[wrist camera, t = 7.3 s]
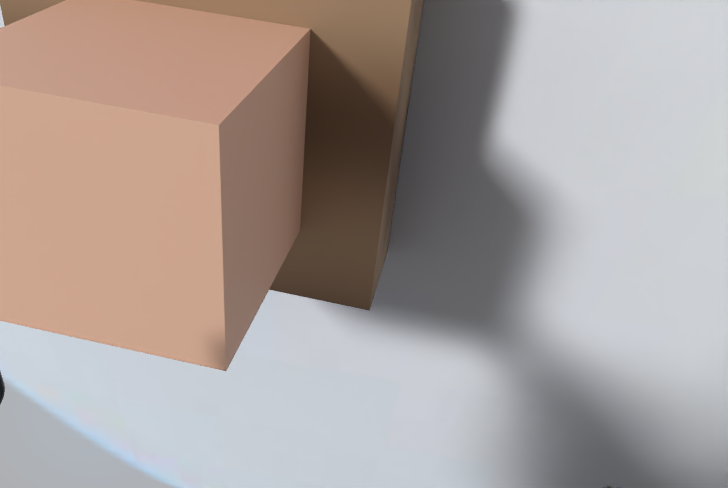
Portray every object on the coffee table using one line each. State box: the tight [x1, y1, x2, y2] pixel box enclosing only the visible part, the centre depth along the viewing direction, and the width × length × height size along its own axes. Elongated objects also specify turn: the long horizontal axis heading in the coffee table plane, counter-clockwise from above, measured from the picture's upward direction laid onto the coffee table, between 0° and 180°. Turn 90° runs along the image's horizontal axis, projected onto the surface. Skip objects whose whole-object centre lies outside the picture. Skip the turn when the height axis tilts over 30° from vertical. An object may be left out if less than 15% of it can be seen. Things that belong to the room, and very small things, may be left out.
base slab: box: [0, 0, 424, 310], centre depth 18 cm, size 10×10×3 cm
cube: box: [0, 0, 310, 371], centre depth 15 cm, size 6×6×6 cm
